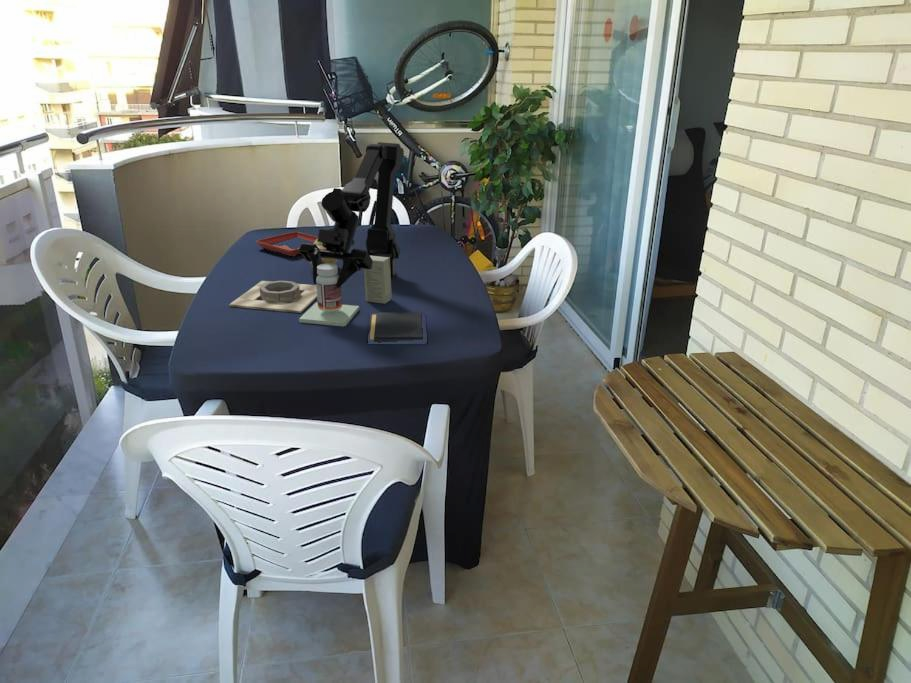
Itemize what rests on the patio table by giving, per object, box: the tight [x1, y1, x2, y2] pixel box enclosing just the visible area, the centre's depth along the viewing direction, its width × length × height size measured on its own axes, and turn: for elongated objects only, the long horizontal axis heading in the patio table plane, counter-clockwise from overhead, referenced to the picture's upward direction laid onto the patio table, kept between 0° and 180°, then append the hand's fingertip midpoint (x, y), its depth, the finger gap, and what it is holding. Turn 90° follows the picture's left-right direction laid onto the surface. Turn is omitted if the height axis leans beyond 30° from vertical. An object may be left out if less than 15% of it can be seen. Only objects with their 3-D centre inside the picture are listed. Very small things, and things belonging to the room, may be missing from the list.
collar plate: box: [228, 280, 317, 314], centre depth 179 cm, size 20×20×3 cm
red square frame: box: [255, 231, 318, 257], centre depth 223 cm, size 18×18×3 cm
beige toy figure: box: [309, 238, 339, 269], centre depth 200 cm, size 10×12×11 cm
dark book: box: [367, 311, 424, 343], centre depth 162 cm, size 20×2×15 cm
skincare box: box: [363, 255, 393, 305], centre depth 177 cm, size 6×4×12 cm
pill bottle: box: [315, 263, 343, 312], centre depth 165 cm, size 6×6×11 cm
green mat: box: [298, 301, 360, 327], centre depth 168 cm, size 12×12×1 cm
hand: (326, 285), depth 163 cm, fingers closed on pill bottle, 6 cm apart
